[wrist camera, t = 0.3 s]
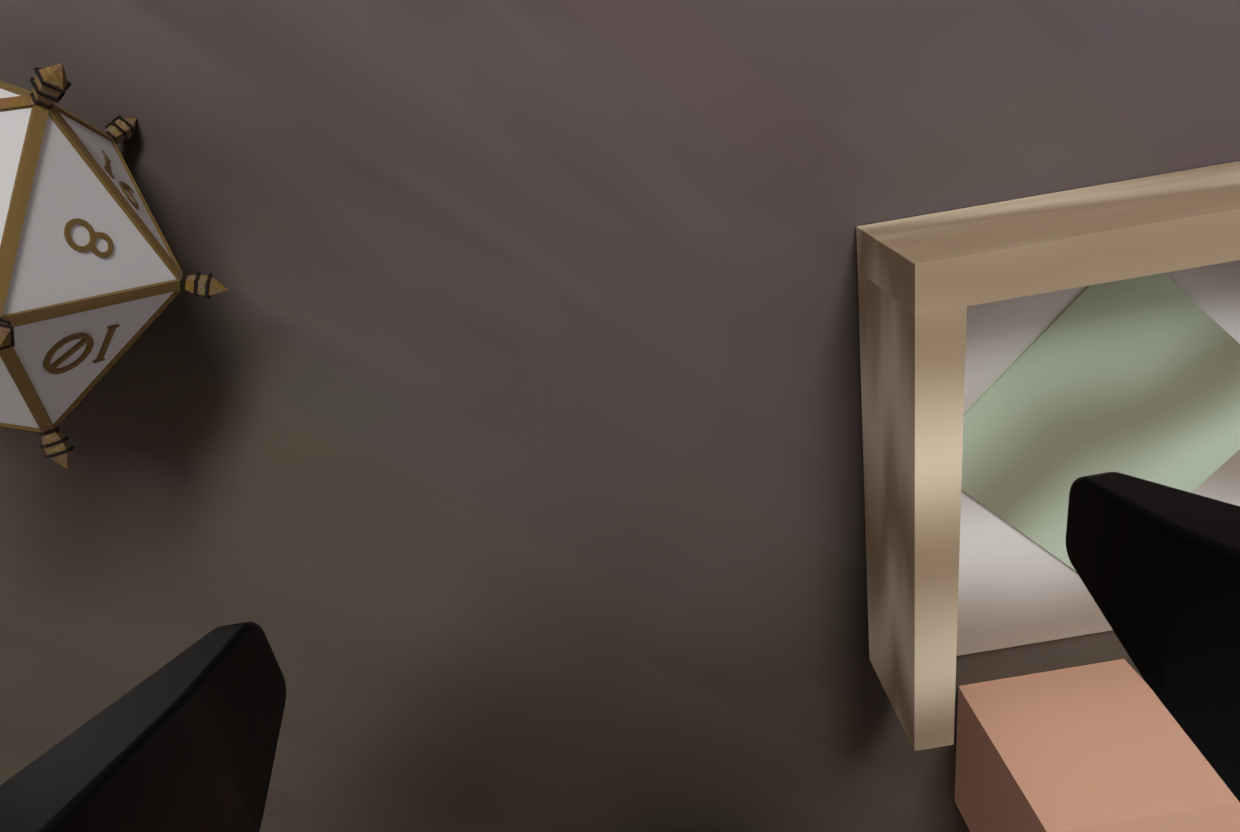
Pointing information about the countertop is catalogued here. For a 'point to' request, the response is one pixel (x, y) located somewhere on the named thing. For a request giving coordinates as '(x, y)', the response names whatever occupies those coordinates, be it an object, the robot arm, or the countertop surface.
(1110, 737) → the cube
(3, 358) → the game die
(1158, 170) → the countertop surface
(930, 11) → the countertop surface
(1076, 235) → the tray
